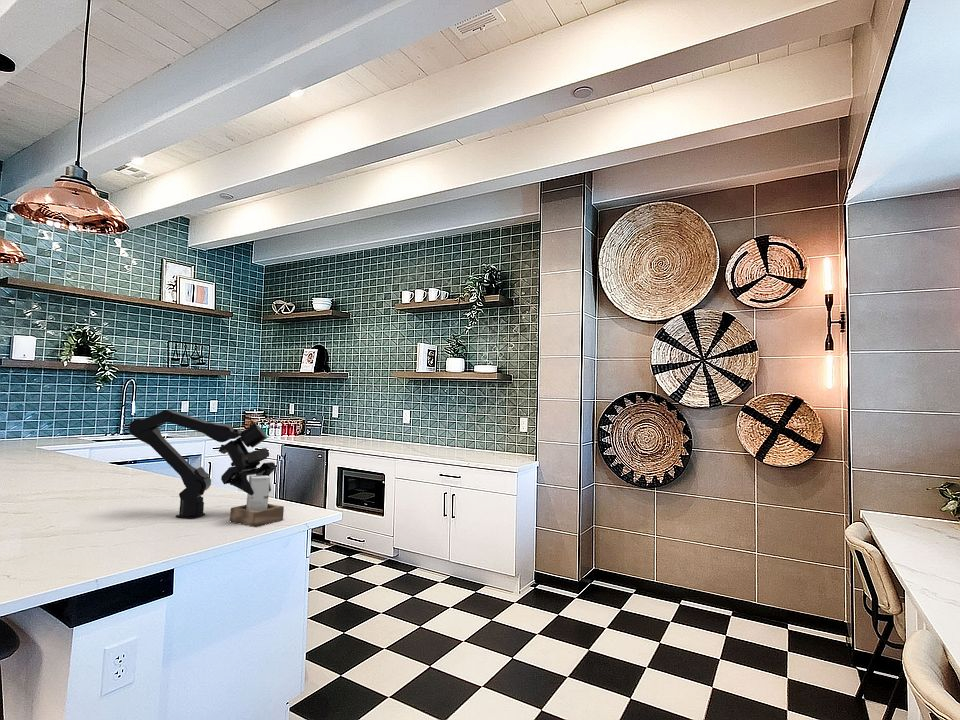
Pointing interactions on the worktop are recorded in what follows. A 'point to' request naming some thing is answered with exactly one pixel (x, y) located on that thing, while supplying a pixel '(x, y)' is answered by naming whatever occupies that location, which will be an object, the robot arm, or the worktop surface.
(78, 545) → the worktop surface
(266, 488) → the skincare box
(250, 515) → the walnut socket
